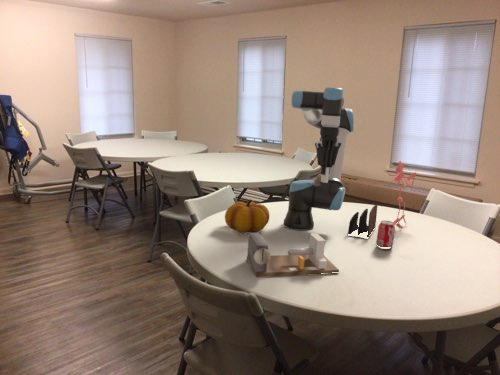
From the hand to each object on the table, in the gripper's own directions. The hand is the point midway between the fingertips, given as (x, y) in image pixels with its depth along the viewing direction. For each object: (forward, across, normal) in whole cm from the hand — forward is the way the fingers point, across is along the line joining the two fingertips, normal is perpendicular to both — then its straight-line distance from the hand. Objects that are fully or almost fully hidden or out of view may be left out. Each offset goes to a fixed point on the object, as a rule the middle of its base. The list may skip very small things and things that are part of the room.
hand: (324, 182), depth 181 cm
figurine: (+30, -60, -9) cm, 67 cm away
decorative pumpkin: (+30, +16, -33) cm, 47 cm away
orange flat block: (+27, +25, +18) cm, 41 cm away
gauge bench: (+29, +24, +12) cm, 40 cm away
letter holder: (+30, -35, -7) cm, 47 cm away
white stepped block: (+28, +20, +15) cm, 37 cm away
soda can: (+30, -28, +13) cm, 43 cm away
